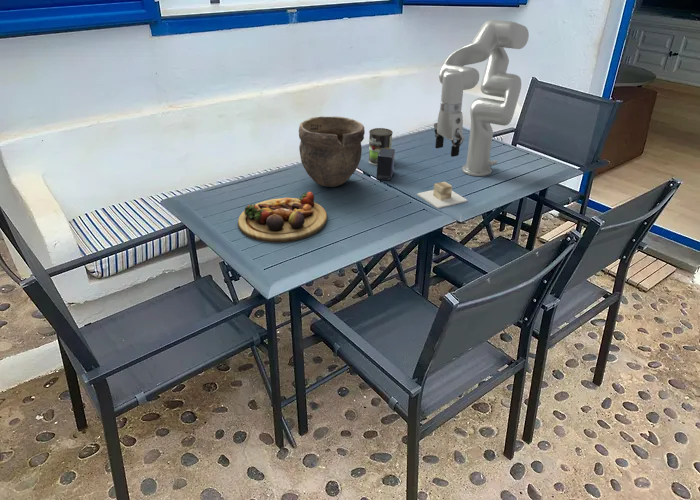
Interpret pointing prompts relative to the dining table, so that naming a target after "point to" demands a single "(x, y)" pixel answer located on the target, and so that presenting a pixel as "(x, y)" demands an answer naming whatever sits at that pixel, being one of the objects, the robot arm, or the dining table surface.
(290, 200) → the wooden plate with food
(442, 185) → the maple cube
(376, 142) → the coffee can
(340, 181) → the clay pot
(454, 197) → the off-white board
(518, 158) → the dining table surface
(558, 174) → the dining table surface
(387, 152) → the small box
